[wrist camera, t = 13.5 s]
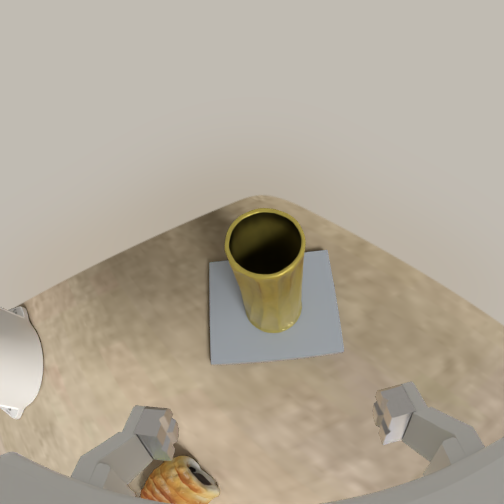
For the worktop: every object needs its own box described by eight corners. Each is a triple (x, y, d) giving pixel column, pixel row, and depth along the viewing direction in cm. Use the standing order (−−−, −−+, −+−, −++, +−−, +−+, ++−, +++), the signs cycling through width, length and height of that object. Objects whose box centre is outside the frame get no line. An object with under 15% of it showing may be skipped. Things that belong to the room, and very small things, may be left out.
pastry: (171, 522, 21) (158, 533, 17) (133, 483, 23) (117, 489, 20) (227, 488, 23) (219, 499, 19) (185, 446, 26) (172, 452, 22)
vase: (250, 277, 33) (227, 199, 20) (304, 282, 32) (315, 205, 19) (241, 329, 30) (207, 279, 18) (298, 336, 29) (309, 290, 17)
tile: (213, 365, 30) (211, 364, 29) (211, 265, 35) (209, 262, 34) (342, 352, 29) (344, 351, 28) (326, 253, 34) (327, 249, 33)
